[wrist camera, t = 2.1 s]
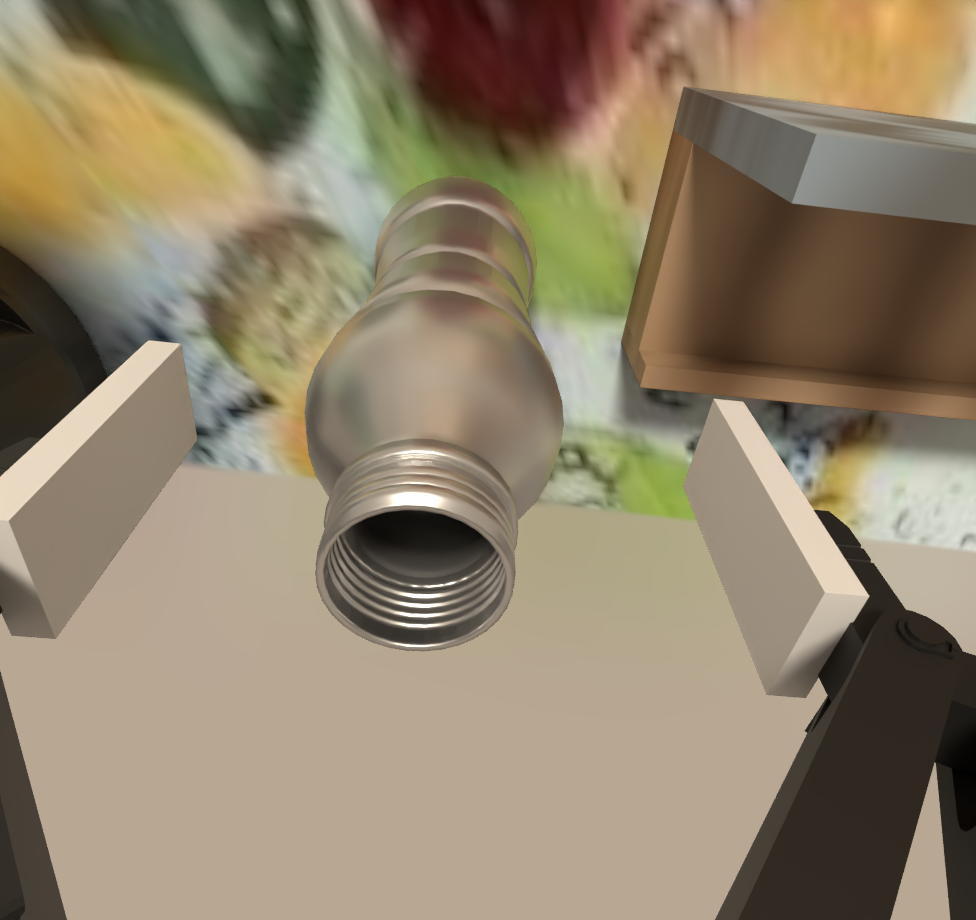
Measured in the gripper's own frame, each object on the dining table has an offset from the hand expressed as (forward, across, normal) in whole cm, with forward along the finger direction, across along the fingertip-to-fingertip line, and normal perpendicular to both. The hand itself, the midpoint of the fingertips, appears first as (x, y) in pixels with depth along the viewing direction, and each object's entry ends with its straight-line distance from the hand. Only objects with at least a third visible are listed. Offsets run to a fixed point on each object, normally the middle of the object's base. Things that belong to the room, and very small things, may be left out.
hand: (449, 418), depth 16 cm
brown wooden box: (+14, +18, +2) cm, 23 cm away
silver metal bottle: (+14, 0, 0) cm, 14 cm away
